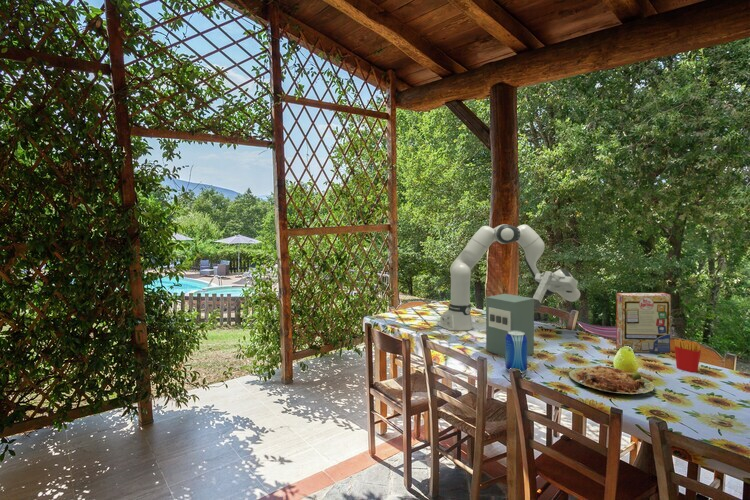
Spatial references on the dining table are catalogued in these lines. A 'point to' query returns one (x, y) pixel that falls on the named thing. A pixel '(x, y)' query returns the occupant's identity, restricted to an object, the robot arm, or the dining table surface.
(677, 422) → the dining table surface
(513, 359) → the beer can
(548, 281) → the lever bar
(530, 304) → the switch cabinet
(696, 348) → the french fries
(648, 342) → the board game box
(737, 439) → the dining table surface
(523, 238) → the robot arm
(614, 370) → the rice dish
